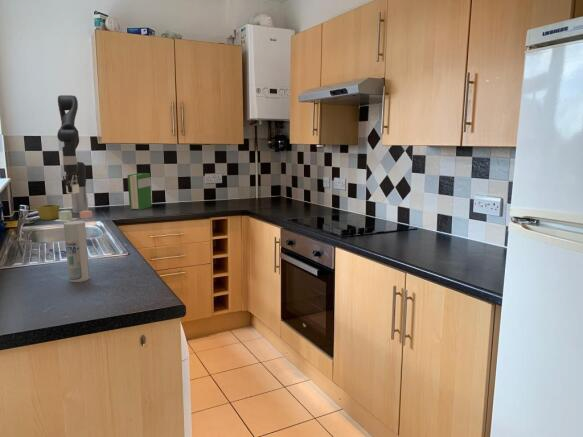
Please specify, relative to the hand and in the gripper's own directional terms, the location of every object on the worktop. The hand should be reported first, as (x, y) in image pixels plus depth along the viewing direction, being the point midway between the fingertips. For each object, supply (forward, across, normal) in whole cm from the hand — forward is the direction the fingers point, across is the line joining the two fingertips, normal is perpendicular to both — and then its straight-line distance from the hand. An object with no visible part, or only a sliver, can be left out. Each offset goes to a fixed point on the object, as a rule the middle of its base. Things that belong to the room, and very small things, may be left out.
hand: (73, 191), depth 268 cm
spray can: (+15, +113, +73) cm, 135 cm away
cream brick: (+1, 0, 0) cm, 1 cm away
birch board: (+16, +10, 0) cm, 19 cm away
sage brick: (+15, +9, 0) cm, 18 cm away
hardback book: (+17, -44, +21) cm, 52 cm away
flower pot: (+17, +9, -11) cm, 22 cm away
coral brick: (+17, +2, +8) cm, 19 cm away
